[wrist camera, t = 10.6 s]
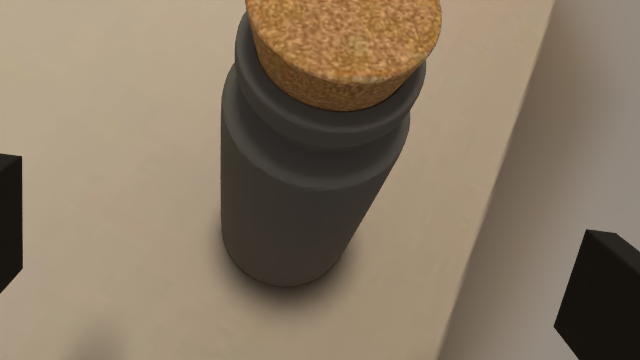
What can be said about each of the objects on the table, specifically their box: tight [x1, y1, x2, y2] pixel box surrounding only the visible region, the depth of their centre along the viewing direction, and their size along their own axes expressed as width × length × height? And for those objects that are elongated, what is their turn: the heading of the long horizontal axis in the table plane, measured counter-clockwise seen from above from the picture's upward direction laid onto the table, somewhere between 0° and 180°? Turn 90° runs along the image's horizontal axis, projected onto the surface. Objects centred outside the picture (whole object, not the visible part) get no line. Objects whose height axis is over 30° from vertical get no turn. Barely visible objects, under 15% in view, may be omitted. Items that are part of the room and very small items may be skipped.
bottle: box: [221, 0, 442, 287], centre depth 20 cm, size 6×6×15 cm
